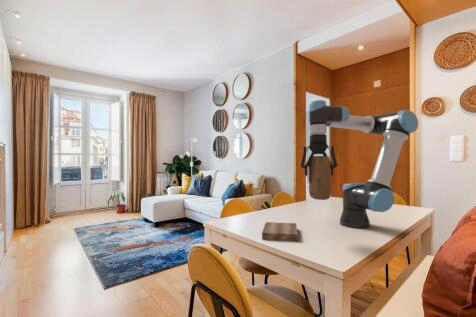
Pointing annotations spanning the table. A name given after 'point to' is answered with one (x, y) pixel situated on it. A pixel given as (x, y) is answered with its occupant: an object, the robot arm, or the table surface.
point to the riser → (280, 231)
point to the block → (319, 178)
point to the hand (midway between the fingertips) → (318, 182)
